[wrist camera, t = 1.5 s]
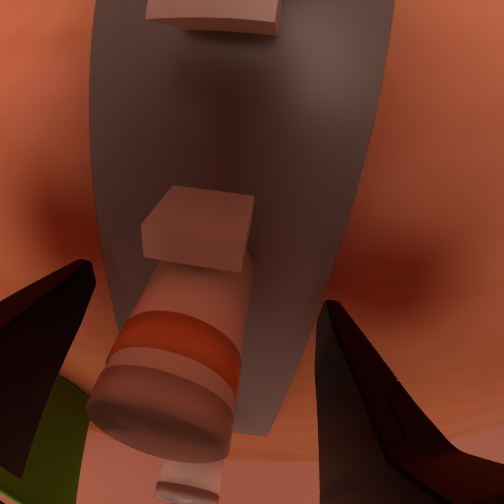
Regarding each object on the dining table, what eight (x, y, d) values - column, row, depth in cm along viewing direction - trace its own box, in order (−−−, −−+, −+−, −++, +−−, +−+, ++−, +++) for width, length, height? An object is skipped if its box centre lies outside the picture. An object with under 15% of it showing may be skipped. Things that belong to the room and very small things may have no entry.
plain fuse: (234, 400, 15) (217, 506, 10) (230, 422, 17) (216, 513, 12) (176, 389, 15) (148, 491, 10) (179, 413, 17) (158, 501, 12)
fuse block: (390, -86, 4) (429, -130, 1) (268, 423, 18) (264, 469, 16) (135, -100, 4) (85, -137, 1) (149, 402, 18) (135, 444, 16)
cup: (136, 416, 20) (99, 539, 11) (83, 421, 24) (50, 512, 15) (43, 344, 17) (-24, 477, 8) (11, 364, 20) (-38, 458, 11)
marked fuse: (261, 233, 9) (234, 424, 4) (249, 308, 11) (225, 470, 6) (162, 219, 10) (65, 380, 5) (165, 294, 11) (106, 441, 6)
